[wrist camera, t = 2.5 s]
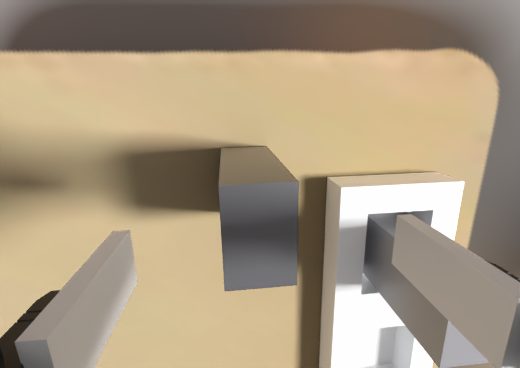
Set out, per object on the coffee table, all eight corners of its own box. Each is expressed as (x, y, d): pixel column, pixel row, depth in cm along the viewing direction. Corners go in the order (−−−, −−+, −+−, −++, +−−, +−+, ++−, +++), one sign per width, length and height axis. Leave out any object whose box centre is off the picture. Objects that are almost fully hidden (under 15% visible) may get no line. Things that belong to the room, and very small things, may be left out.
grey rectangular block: (224, 212, 28) (224, 291, 16) (221, 147, 26) (218, 185, 15) (267, 209, 28) (296, 285, 17) (266, 146, 26) (298, 181, 15)
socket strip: (318, 384, 35) (367, 534, 23) (327, 177, 28) (404, 234, 16) (407, 373, 36) (498, 511, 24) (436, 171, 29) (585, 222, 17)
